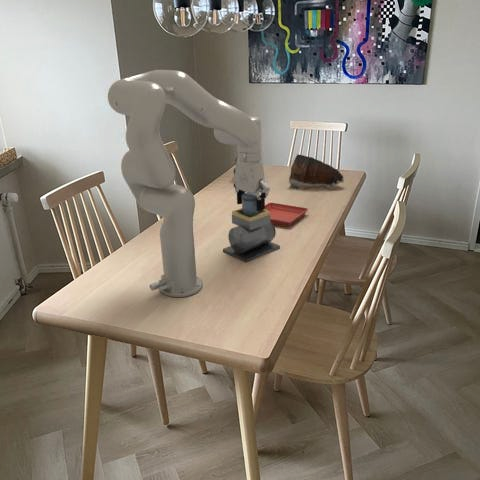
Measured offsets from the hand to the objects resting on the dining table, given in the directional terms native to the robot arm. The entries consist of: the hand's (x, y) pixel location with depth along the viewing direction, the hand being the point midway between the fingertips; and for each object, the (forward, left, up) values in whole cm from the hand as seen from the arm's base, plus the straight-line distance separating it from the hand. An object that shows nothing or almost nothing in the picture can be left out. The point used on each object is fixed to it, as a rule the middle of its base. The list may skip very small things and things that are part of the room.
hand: (250, 206), depth 158 cm
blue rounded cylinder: (0, 0, -3) cm, 3 cm away
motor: (0, 0, -16) cm, 16 cm away
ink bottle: (+53, +65, -16) cm, 85 cm away
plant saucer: (+29, +15, -16) cm, 37 cm away
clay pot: (+72, +32, -16) cm, 80 cm away
